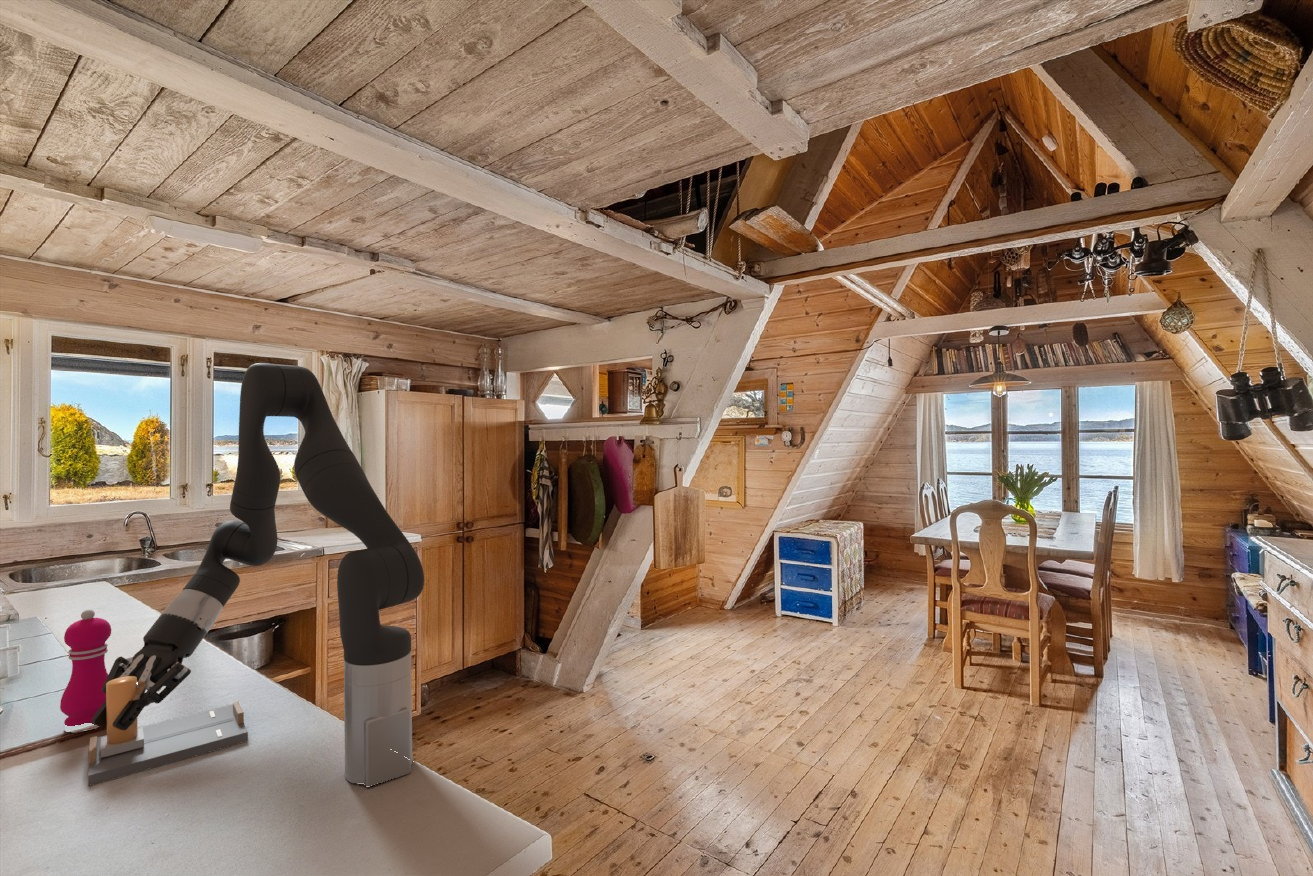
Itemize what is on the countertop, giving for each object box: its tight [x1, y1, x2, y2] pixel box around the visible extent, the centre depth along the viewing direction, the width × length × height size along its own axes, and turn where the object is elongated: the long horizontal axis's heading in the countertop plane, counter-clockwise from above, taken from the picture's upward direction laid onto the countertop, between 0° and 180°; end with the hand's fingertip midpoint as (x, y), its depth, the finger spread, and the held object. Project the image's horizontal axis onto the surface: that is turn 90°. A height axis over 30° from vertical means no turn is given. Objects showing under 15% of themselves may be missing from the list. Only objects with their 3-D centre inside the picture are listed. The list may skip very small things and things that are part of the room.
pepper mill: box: [59, 609, 112, 726], centre depth 107 cm, size 7×7×20 cm
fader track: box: [87, 701, 249, 787], centre depth 100 cm, size 14×19×3 cm
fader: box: [101, 676, 144, 758], centre depth 96 cm, size 5×5×10 cm
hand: (108, 726), depth 94 cm, fingers closed on fader, 3 cm apart
